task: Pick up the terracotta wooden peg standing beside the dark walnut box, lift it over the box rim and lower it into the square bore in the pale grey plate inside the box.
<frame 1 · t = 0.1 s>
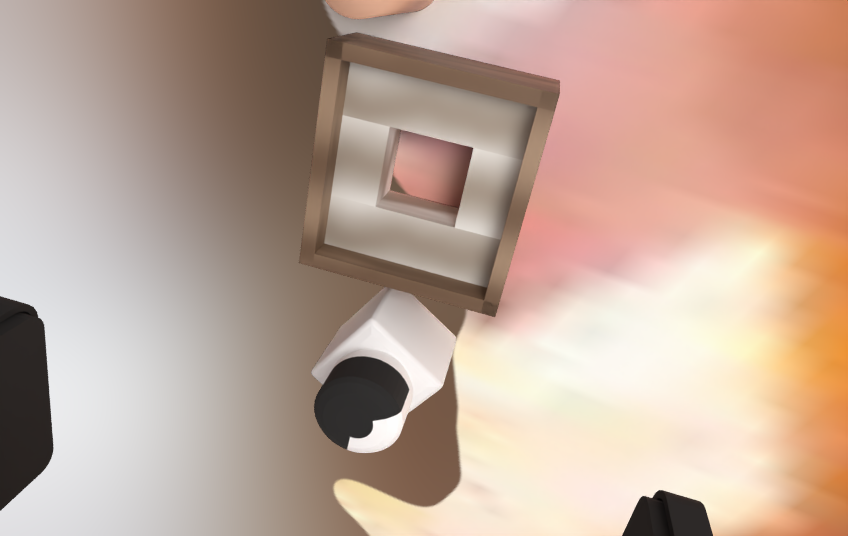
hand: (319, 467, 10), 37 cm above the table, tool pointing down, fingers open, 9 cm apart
bore box: (433, 163, 45), on the table
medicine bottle: (398, 331, 52), on the table
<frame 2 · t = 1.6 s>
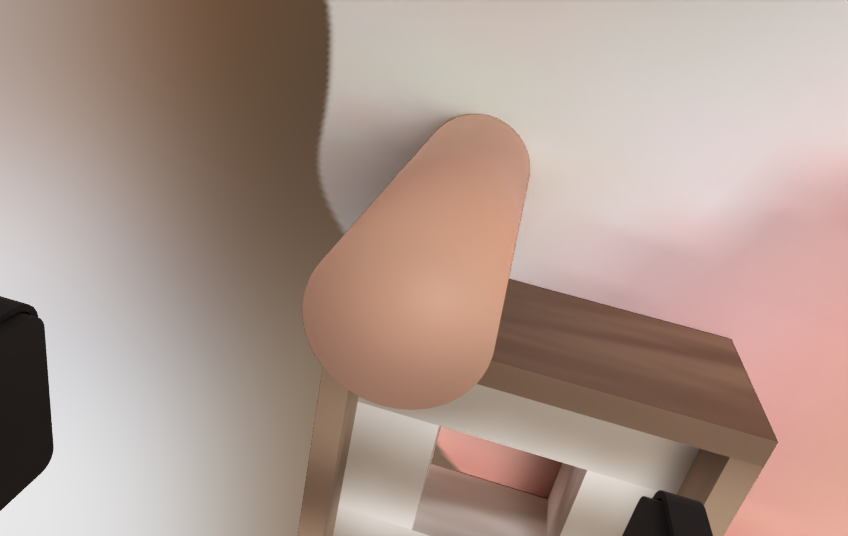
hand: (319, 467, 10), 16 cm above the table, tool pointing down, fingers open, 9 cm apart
bore box: (503, 435, 28), on the table
peg: (475, 168, 23), on the table
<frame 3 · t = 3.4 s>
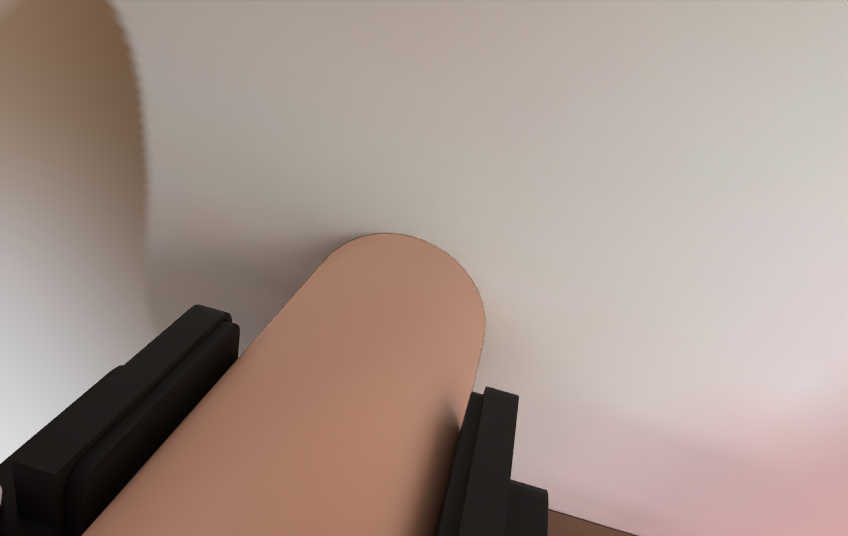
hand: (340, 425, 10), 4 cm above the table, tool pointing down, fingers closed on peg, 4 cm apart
peg: (395, 318, 14), on the table, touching gripper
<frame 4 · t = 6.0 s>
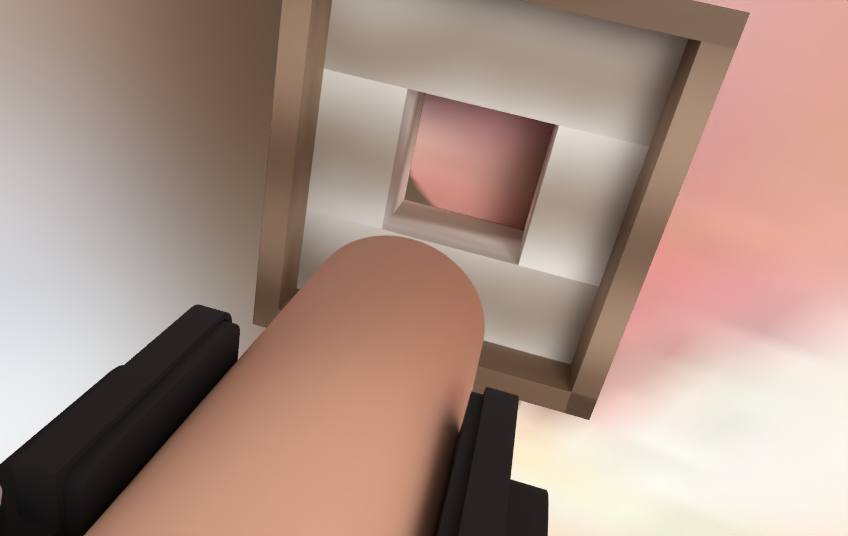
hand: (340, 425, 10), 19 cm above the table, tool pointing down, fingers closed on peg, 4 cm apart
bore box: (477, 155, 27), on the table
peg: (394, 320, 14), point 15 cm above the table, touching gripper
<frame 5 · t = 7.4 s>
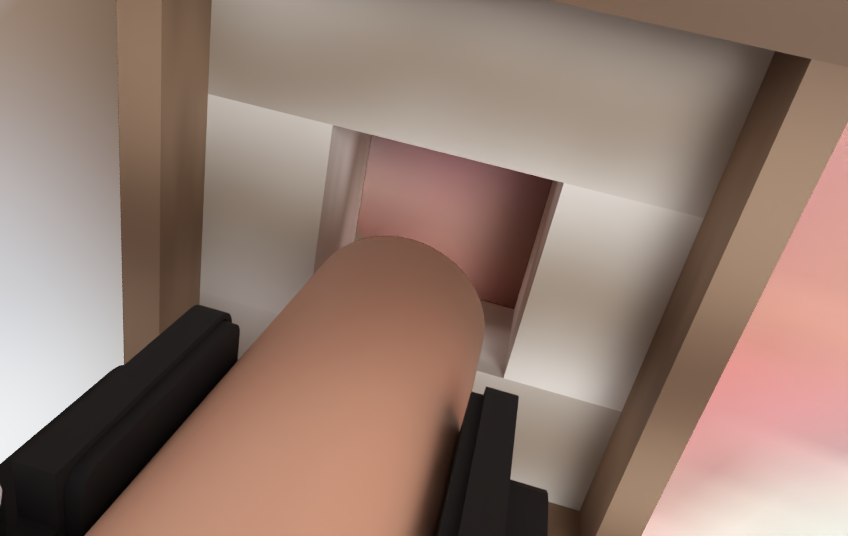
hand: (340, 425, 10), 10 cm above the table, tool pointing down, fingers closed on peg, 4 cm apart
bore box: (449, 208, 20), on the table
peg: (394, 321, 14), point 7 cm above the table, touching gripper
when the fingers open (5 cm above the table, at t = 8.8 s): peg stays where it is, resting in bore box.
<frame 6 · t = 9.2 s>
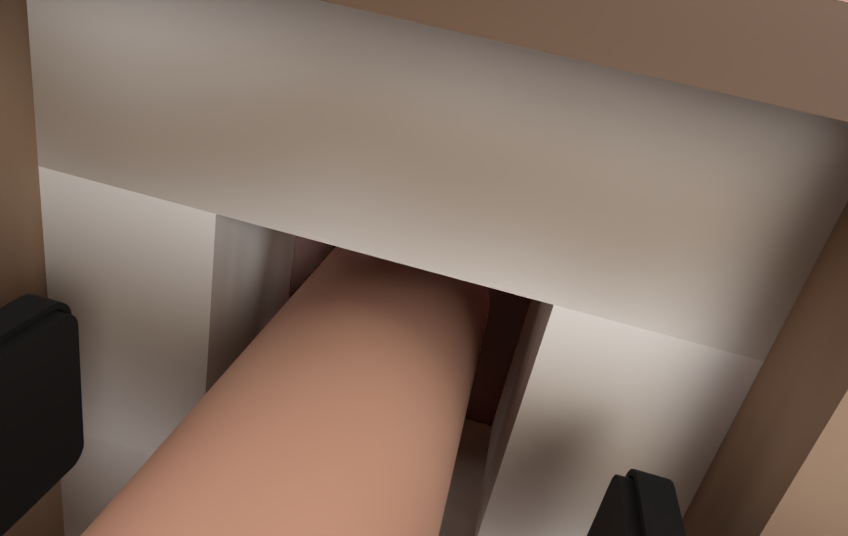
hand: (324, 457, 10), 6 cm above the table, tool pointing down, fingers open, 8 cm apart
bore box: (404, 299, 15), on the table
peg: (403, 299, 15), resting in bore box
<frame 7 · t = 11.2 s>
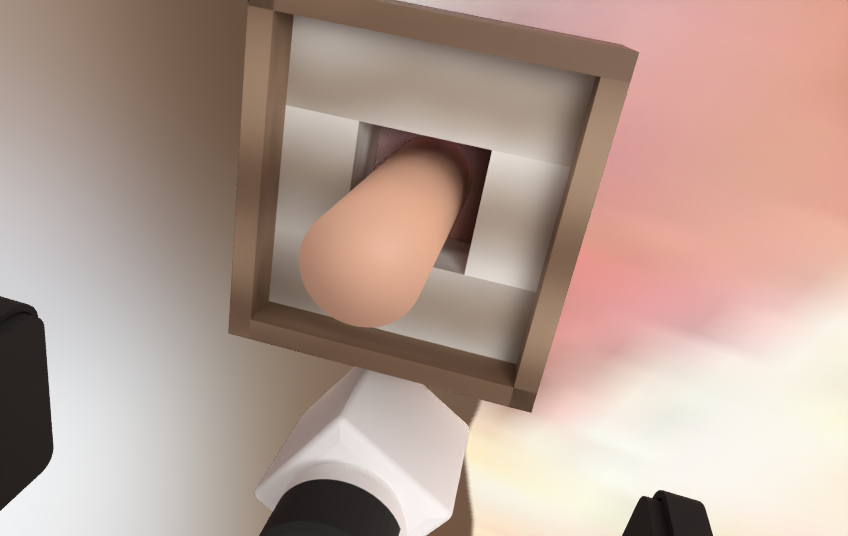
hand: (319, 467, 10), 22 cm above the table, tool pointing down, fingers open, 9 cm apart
bore box: (430, 178, 30), on the table
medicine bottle: (386, 417, 36), on the table
peg: (429, 177, 30), resting in bore box
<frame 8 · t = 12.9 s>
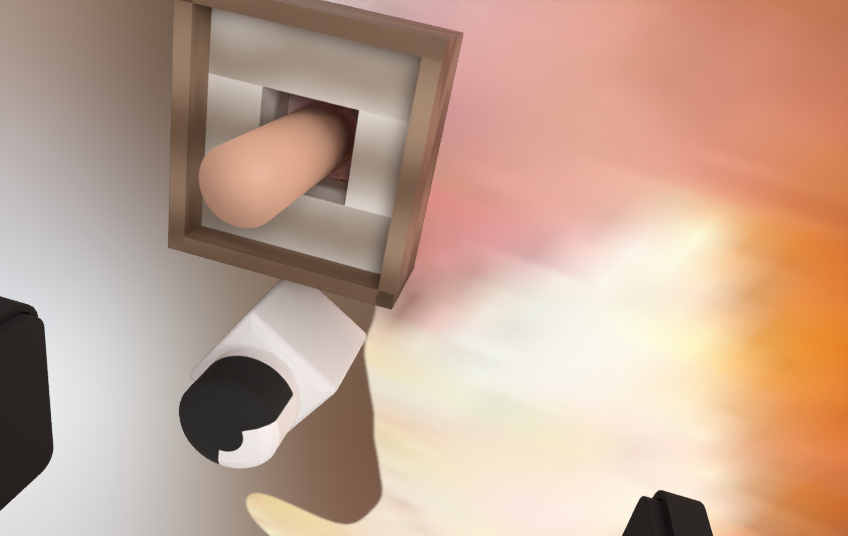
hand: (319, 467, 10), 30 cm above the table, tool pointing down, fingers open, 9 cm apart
bore box: (328, 133, 39), on the table
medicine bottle: (303, 327, 46), on the table
peg: (328, 133, 39), resting in bore box
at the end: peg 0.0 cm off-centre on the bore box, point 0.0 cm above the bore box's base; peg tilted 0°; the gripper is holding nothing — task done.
